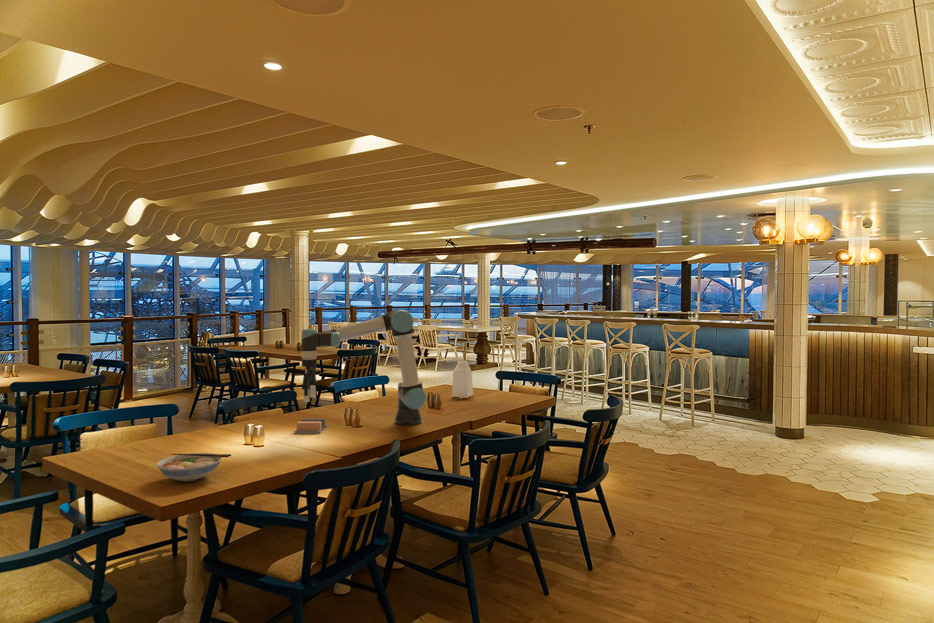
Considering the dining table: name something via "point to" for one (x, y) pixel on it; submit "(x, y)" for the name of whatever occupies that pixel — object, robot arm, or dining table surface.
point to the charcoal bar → (316, 420)
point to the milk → (462, 380)
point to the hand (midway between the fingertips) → (309, 399)
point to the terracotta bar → (309, 426)
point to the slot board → (310, 431)
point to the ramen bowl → (189, 465)
